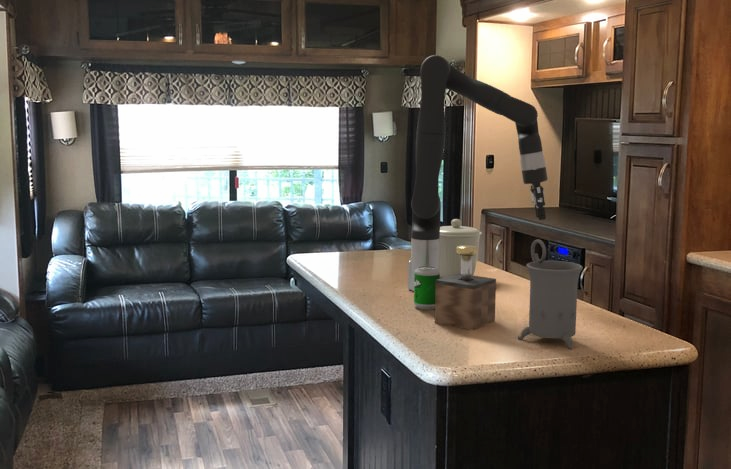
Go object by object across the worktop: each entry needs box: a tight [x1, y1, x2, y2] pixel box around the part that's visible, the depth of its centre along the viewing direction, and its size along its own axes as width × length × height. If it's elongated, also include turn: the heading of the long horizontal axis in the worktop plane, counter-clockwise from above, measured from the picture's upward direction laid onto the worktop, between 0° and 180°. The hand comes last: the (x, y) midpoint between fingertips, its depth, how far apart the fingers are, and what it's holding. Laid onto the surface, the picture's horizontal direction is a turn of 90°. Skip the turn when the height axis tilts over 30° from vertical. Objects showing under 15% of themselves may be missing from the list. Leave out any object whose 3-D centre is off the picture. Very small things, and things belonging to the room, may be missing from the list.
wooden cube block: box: [434, 274, 497, 331], centre depth 216 cm, size 12×12×12 cm
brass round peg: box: [456, 245, 478, 281], centre depth 215 cm, size 6×6×12 cm
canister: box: [439, 218, 483, 279], centre depth 277 cm, size 18×18×21 cm
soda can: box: [413, 266, 441, 311], centre depth 233 cm, size 8×8×12 cm
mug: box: [517, 238, 584, 350], centre depth 198 cm, size 19×15×25 cm
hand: (541, 218), depth 248 cm, fingers open, 8 cm apart
